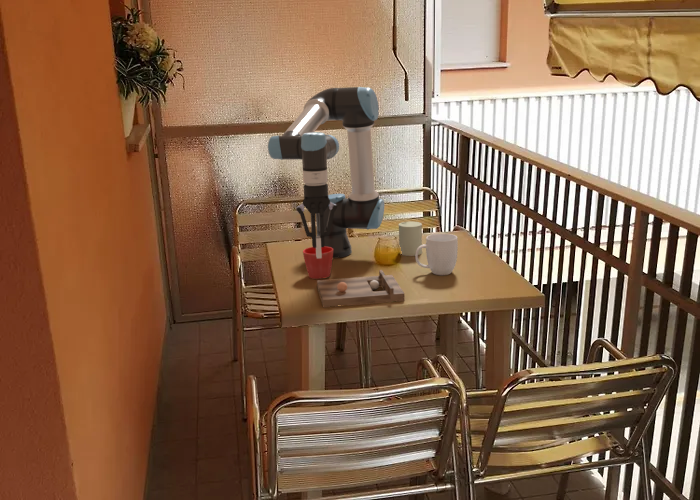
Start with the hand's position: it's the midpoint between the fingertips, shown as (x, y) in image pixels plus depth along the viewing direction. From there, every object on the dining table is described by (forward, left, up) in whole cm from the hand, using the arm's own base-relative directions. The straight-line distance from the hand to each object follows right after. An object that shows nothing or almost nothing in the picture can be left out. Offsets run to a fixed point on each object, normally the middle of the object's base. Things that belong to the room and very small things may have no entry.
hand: (318, 257), depth 229 cm
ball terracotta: (0, +7, -11) cm, 13 cm away
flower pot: (-27, +2, -15) cm, 31 cm away
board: (-4, +13, -15) cm, 20 cm away
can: (-48, +40, -15) cm, 64 cm away
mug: (-20, +44, -15) cm, 50 cm away
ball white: (-7, +19, -13) cm, 24 cm away
